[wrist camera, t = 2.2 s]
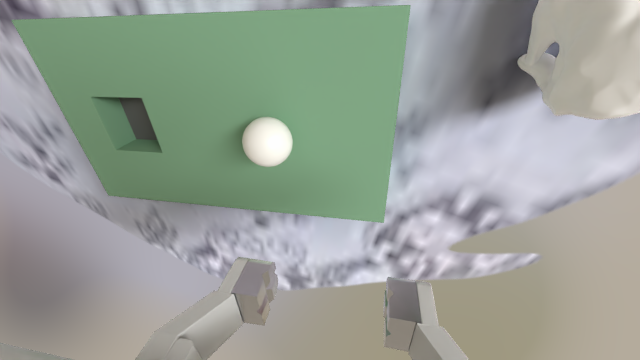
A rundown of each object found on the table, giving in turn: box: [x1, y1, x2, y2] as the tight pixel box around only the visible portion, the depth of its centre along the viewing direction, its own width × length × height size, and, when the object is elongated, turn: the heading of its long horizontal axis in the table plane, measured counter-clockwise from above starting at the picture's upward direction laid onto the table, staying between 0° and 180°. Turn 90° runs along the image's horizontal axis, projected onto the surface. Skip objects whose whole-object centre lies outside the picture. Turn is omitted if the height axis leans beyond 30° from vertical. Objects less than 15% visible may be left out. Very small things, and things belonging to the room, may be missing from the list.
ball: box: [242, 117, 293, 167], centre depth 22 cm, size 4×4×4 cm
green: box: [12, 5, 411, 223], centre depth 26 cm, size 18×32×3 cm, turn 91°
